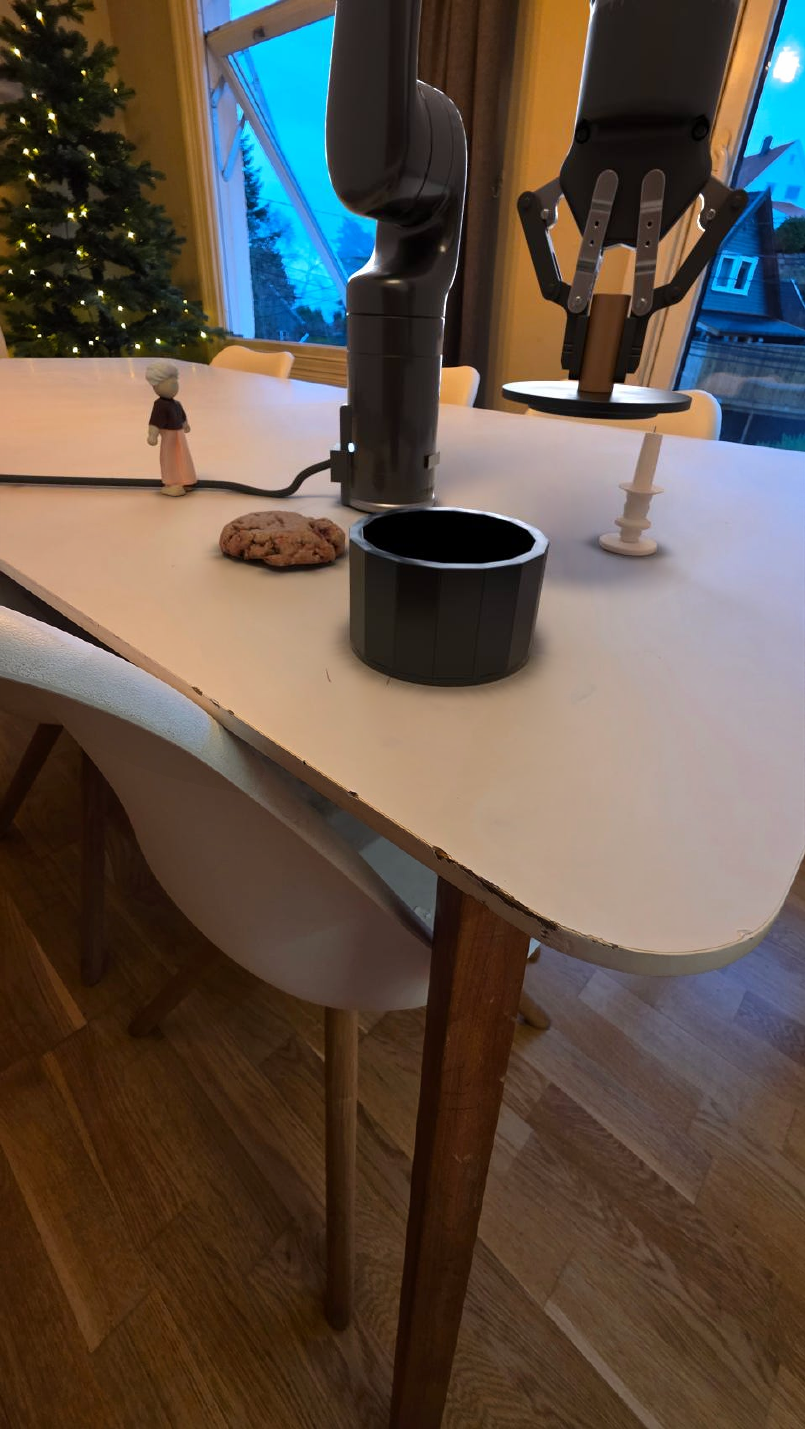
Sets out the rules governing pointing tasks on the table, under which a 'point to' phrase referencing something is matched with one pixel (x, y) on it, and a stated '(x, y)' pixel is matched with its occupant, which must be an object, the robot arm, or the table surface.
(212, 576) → the table surface
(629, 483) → the candle
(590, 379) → the tin lid
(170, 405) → the grandmother figurine
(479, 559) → the tin
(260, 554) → the cookie
